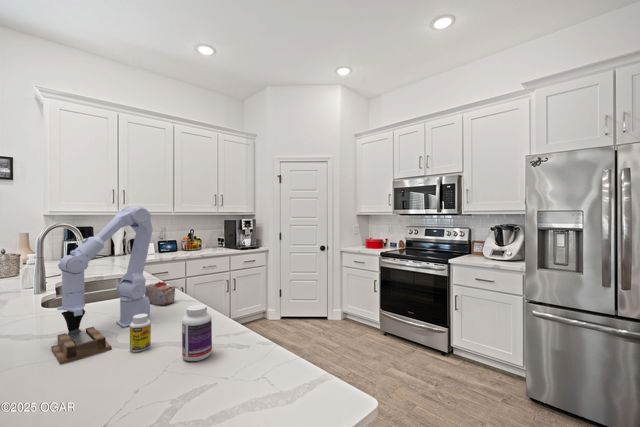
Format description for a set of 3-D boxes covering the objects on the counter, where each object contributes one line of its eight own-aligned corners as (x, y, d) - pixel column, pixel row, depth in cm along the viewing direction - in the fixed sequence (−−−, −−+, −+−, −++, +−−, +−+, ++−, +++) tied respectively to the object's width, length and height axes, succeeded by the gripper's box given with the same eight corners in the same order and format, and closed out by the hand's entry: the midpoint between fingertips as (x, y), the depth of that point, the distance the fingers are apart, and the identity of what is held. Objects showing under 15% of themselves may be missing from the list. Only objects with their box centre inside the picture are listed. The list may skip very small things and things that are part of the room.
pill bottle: (217, 352, 90) (217, 304, 90) (198, 365, 83) (198, 313, 83) (195, 348, 93) (195, 301, 93) (175, 360, 85) (175, 309, 85)
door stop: (66, 341, 97) (66, 330, 97) (82, 337, 100) (82, 326, 100) (77, 356, 87) (77, 343, 87) (94, 351, 90) (94, 339, 90)
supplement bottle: (129, 354, 89) (129, 320, 89) (129, 347, 93) (129, 314, 93) (151, 349, 92) (151, 316, 92) (150, 343, 96) (149, 311, 96)
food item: (178, 302, 140) (178, 281, 140) (163, 307, 133) (163, 285, 133) (156, 299, 145) (156, 279, 145) (141, 304, 138) (141, 282, 138)
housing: (51, 349, 92) (51, 336, 92) (98, 337, 101) (98, 325, 101) (60, 364, 83) (60, 350, 83) (111, 349, 92) (111, 336, 92)
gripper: (53, 290, 100) (53, 330, 100) (61, 298, 91) (62, 342, 91) (79, 286, 106) (79, 324, 106) (90, 293, 96) (90, 335, 96)
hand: (73, 332), depth 99 cm, fingers closed
